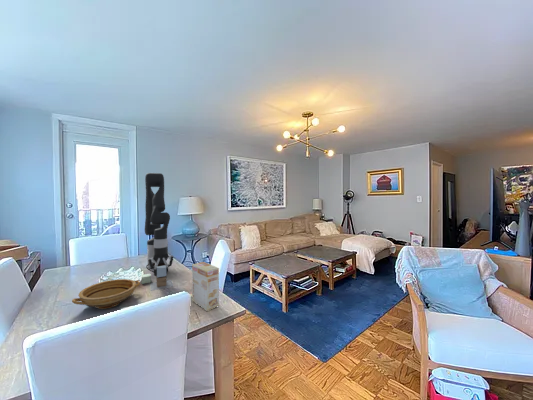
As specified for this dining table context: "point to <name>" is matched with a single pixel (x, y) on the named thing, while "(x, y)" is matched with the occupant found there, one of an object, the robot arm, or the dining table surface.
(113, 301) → the ceramic bowl
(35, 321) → the dining table surface
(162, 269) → the brick slate
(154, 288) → the build plate
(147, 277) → the brick sage
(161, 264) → the coffee mug
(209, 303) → the coffeecake box
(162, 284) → the brick base
